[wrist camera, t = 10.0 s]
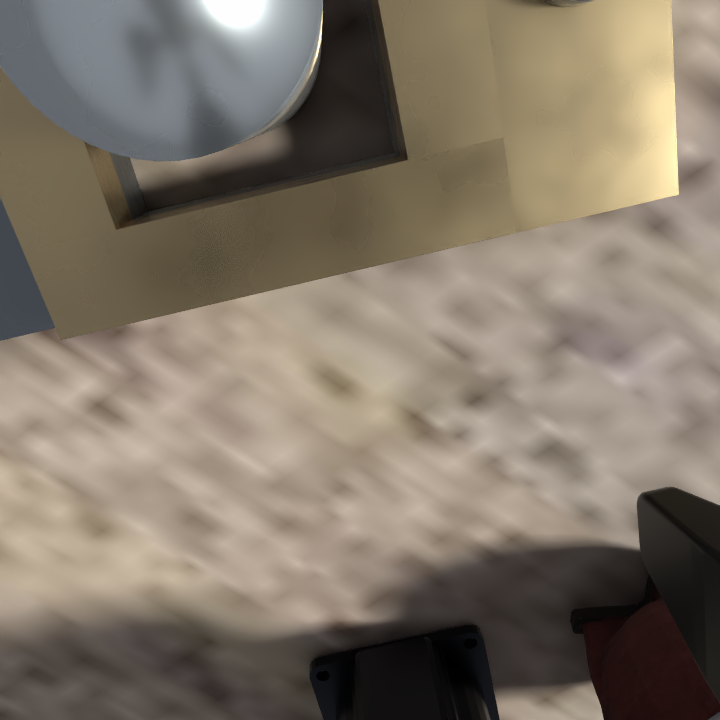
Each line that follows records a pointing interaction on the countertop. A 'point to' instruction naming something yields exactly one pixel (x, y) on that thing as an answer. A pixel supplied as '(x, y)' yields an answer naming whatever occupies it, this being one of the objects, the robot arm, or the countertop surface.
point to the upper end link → (372, 164)
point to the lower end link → (13, 274)
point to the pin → (163, 69)
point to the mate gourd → (643, 663)
